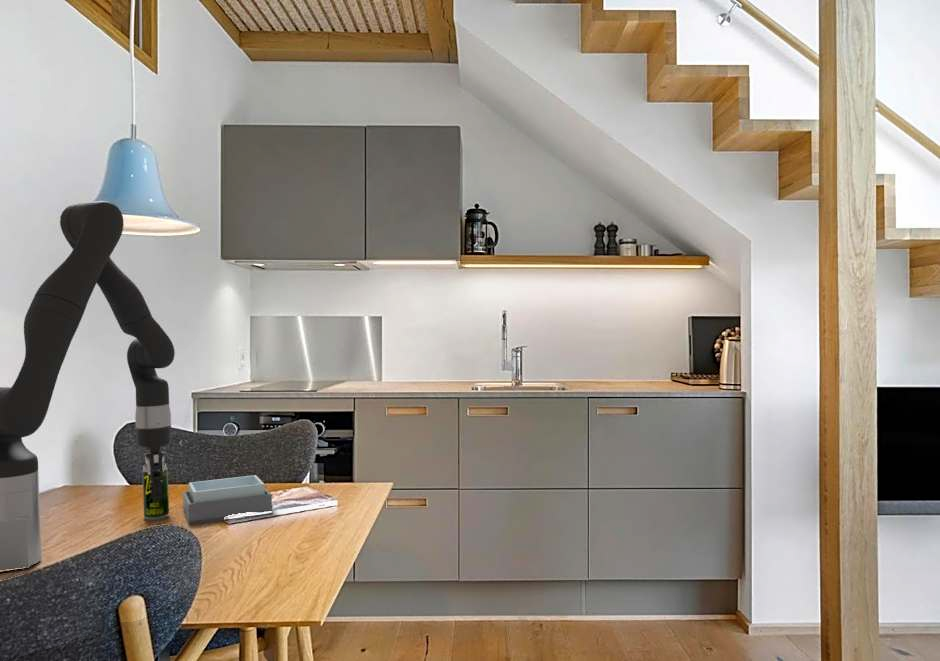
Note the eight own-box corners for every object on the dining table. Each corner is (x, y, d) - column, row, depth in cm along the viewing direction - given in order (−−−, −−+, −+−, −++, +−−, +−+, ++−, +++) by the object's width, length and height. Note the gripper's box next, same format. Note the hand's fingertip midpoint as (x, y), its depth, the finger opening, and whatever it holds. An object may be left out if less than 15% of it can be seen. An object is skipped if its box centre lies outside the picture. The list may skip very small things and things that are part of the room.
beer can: (145, 515, 174) (143, 464, 174) (170, 513, 176) (168, 462, 176) (142, 521, 169) (140, 468, 169) (168, 519, 171) (166, 466, 171)
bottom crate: (272, 513, 173) (271, 494, 173) (189, 525, 165) (188, 504, 165) (261, 500, 186) (260, 482, 186) (183, 510, 178) (182, 491, 178)
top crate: (265, 509, 174) (264, 483, 174) (194, 519, 167) (193, 492, 167) (256, 499, 184) (255, 475, 184) (189, 507, 177) (188, 482, 177)
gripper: (173, 427, 167) (175, 499, 168) (168, 419, 180) (171, 487, 181) (136, 430, 164) (139, 503, 164) (134, 422, 177) (137, 491, 177)
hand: (155, 495), depth 172 cm, fingers open, 8 cm apart
